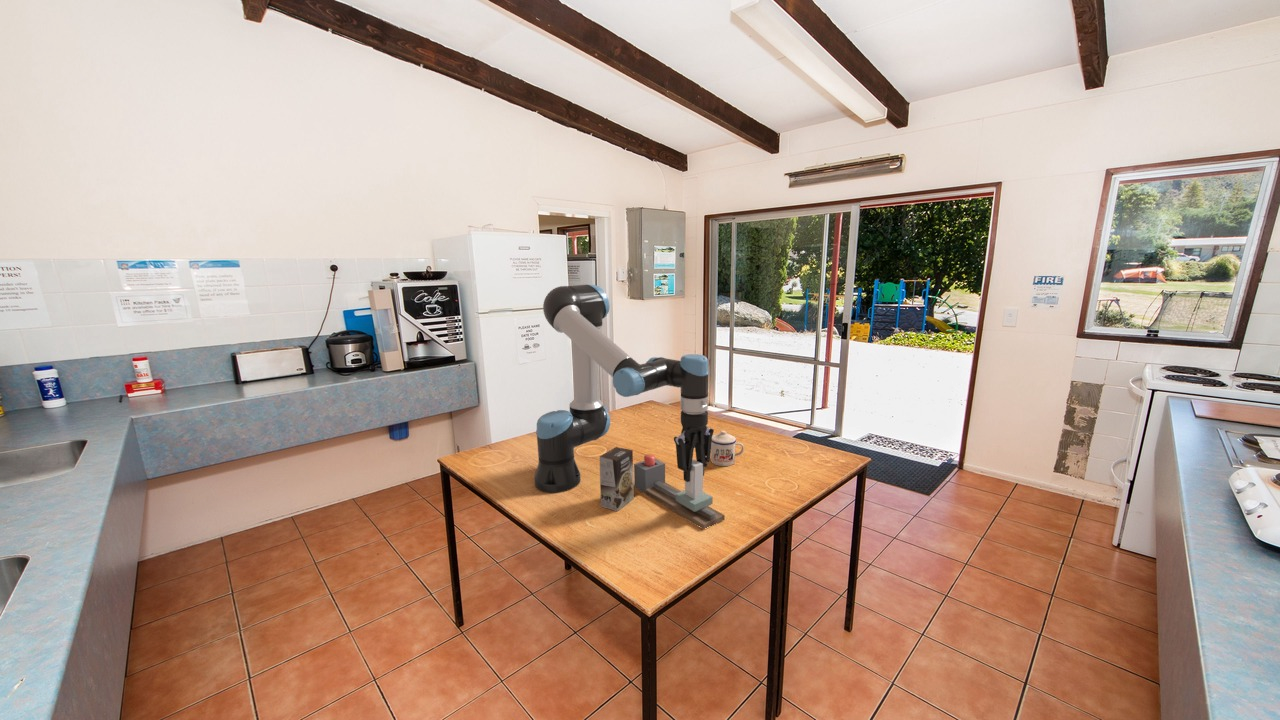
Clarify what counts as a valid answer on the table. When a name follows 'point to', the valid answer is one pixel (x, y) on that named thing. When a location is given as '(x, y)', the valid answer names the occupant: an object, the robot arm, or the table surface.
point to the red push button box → (648, 475)
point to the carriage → (695, 491)
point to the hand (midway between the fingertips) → (693, 488)
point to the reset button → (649, 460)
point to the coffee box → (616, 478)
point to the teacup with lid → (724, 449)
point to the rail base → (668, 498)
